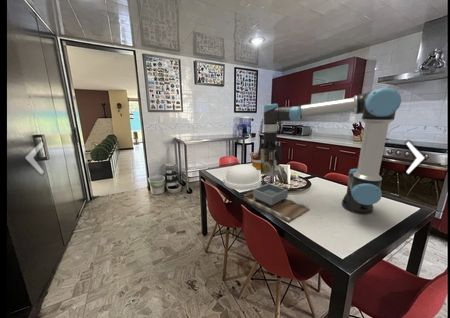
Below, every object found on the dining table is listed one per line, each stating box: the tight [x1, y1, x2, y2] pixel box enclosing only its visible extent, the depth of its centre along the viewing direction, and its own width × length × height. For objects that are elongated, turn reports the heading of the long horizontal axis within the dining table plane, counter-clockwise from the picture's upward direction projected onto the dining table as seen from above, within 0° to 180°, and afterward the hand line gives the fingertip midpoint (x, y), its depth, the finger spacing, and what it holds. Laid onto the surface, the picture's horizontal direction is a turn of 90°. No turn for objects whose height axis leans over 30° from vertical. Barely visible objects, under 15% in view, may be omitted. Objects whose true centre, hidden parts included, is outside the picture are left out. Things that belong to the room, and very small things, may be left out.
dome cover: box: [222, 163, 263, 191], centre depth 156 cm, size 32×30×14 cm
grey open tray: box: [252, 183, 289, 208], centre depth 121 cm, size 15×15×8 cm
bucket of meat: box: [249, 147, 264, 171], centre depth 190 cm, size 20×16×20 cm
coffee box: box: [260, 147, 279, 177], centre depth 116 cm, size 9×6×16 cm
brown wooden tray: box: [243, 190, 310, 224], centre depth 119 cm, size 34×20×4 cm, turn 37°
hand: (269, 168), depth 117 cm, fingers closed on coffee box, 10 cm apart
